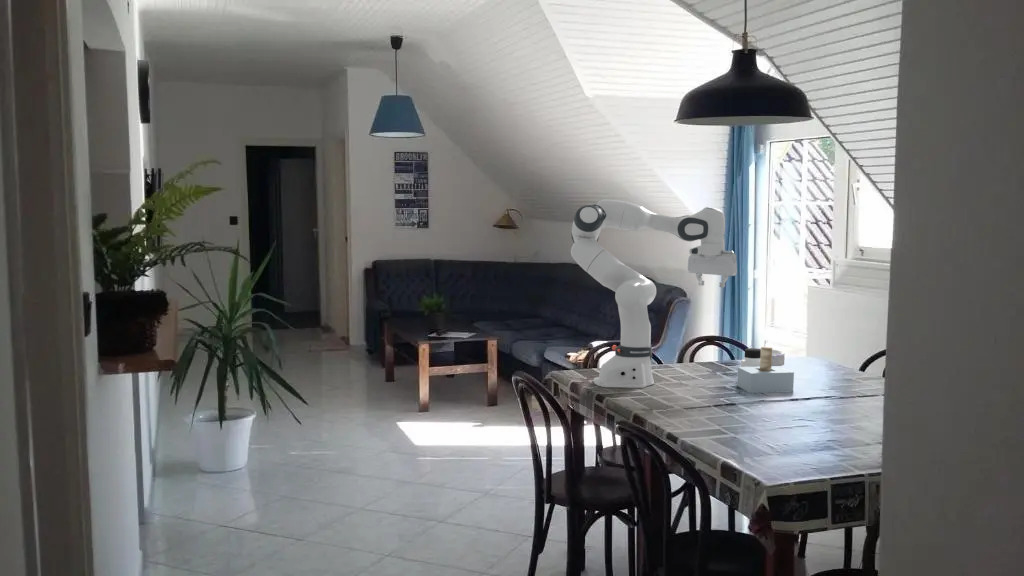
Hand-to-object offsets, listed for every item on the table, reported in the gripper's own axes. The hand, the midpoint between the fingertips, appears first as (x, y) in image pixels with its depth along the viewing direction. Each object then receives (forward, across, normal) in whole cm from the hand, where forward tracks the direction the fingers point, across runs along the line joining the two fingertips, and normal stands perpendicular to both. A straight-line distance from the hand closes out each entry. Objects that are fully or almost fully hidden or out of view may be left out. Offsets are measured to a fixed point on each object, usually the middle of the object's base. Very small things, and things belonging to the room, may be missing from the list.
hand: (711, 286), depth 337 cm
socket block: (+35, -26, +4) cm, 44 cm away
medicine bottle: (+35, -14, -7) cm, 39 cm away
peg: (+34, -26, +4) cm, 43 cm away
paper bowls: (+35, -8, -26) cm, 45 cm away
